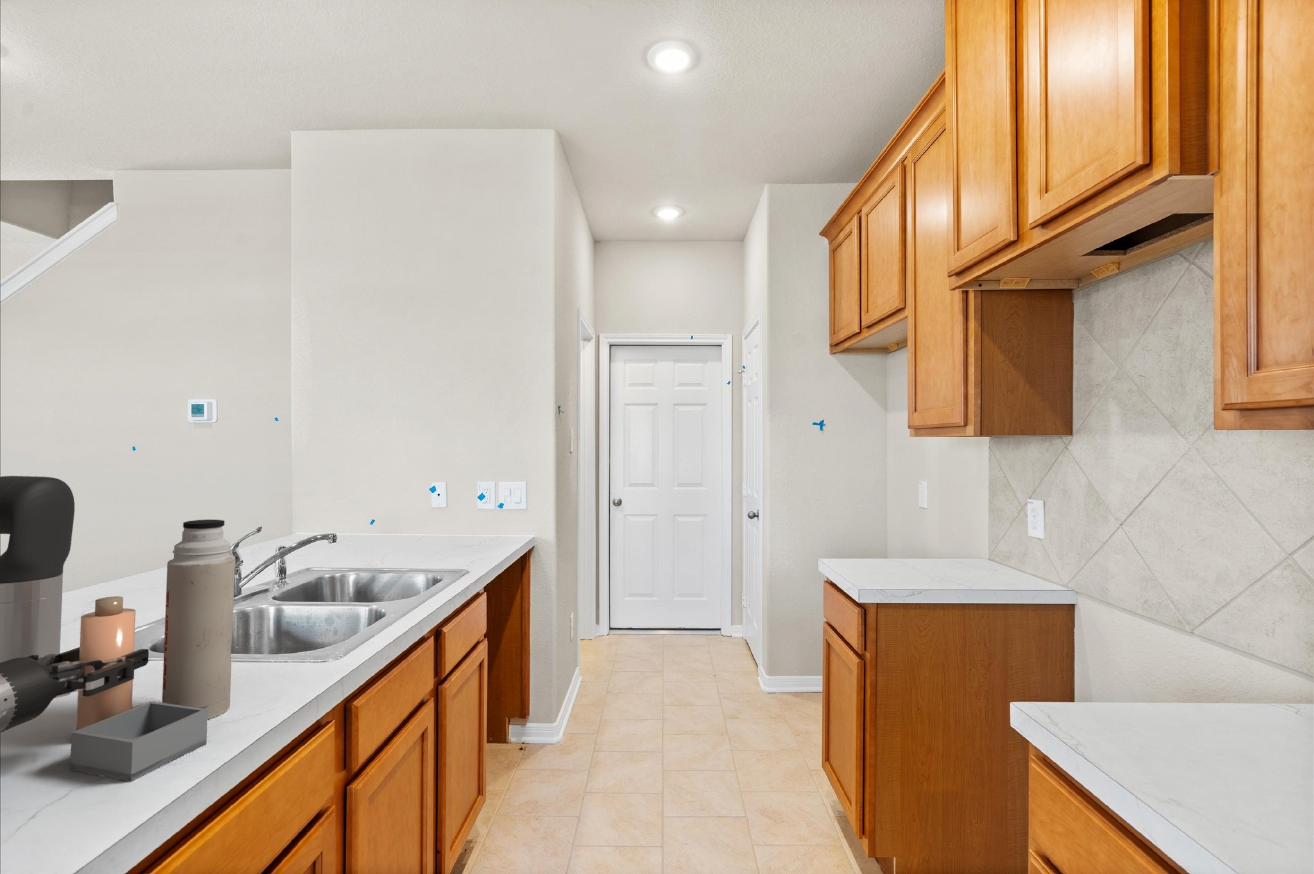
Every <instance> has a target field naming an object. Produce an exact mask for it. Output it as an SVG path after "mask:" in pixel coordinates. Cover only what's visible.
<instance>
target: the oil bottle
mask: <svg viewBox="0 0 1314 874" xmlns="http://www.w3.org/2000/svg"><path fill="white" fill-rule="evenodd" d="M94 601H95V602H94V603H95V605H94V611H93V612H88V613H85V614H82V616H80V631H79V634H80V635H79V647H80V653H79V661H82V660H87V659H92V658H100V659H101V660H108V659H113V658H118V657H121V656H124V655H126V654H129V653H132V652H134V651H135V633H136V609H135V608H128V607H127V608H125V607H124V596H119V595H118V596H105V597H101V598H97V599H95V600H94ZM109 666H110V665H109ZM105 667H107V666H104V667H103V668H105ZM92 670H93V666H85V674H88V673H90V671H92ZM133 683H134V679H133V680H130V681H128V682H125V683H123V684H120V685H118V686H115V687H113V688H110V689H107V690H105V691H102V692H100V693H97V694H95V695H92V696H89V697H87V696H83V690H81V691H77V704H76V705H77V709H76V729H75V731H76V730H79V729H82V728H84V727H87V726H89V725H92V724H94V723H97V722H99V721H102V720H105V719H107V718H110V717H112V716H115V715H117V714H120V713H123V712H125V711H128V710H130V709H133V690H134V687H133V686H134V684H133Z"/></svg>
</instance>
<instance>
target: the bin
mask: <svg viewBox="0 0 1314 874" xmlns="http://www.w3.org/2000/svg"><path fill="white" fill-rule="evenodd" d="M207 715H208V709H202V708H195V707H188V706H181V705H174V704H167V703H162V701H161V702H160V701H153V700H150V701H149V702H146V703H144V704H141V705H138V706H136V707H134V708H133V707H132V709H130V710H128V711H125V712H123V713H120V714H117V715H115V716H112V717H110V718H107V719H105V720H102V721H99V722H97V723H94V724H92V725H89V726H87V727H84V728H82V729H79V730H76V729H75V731H71V735H70V737H71V738H70V762H69V764H70V765H69V770H70V771H71V772H76V773H82V774H88V775H92V776H93V775H94V776H99V777H103V778H109V779H115V780H120V781H126V782H133V781H135V780H137V779H139V778H141V777H143V776H145V775H147V774H149V773H151V772H153V771H155V770H157V769H160V768H161V767H163V766H165V765H167V764H169V763H171V762H174V761H175V760H177V759H179V758H182V757H183V756H185V755H187V754H190V753H191V752H192V751H193V752H194V751H195V750H196V749H197V750H198V749H199V748H201V747H203V746H205V745H207V740H208V739H207V738H208V720H207Z"/></svg>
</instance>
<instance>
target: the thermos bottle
mask: <svg viewBox="0 0 1314 874" xmlns="http://www.w3.org/2000/svg"><path fill="white" fill-rule="evenodd" d="M224 526H225V520H223V519H196V520H186V521H183V522H182V527H183V528H182V529H183V531H182V535H181V541H180V542H178V543H175V544H174V547H173V550H172V553H173V558H172V559H169V560H168V561H167V563H166V564H167V565H166V590H165V593H166V594H165V616H164V617H165V618H164V641H163V643H164V644H163V645H164V646H163V664H162V665H163V670H162V691H161V692H162V693H161V694H162V695H161V703H167V704H174V705H181V706H188V707H195V708H202V709H208V715H207V721H208V720H210V719H213V718H216V717H218V716H221V715H222V714H224V713H226V712H227V711H228V710H229V709H230V706H231V683H232V681H231V680H232V644H233V633H234V632H233V627H234V626H233V625H234V601H235V599H234V597H235V574H236V573H235V572H236V571H235V570H236V569H235V568H236V557H235V555H232V554H231V551H232V549H231V547H232V546H231V543H230V541H228V540H226V539H225V538H224V529H223V527H224Z"/></svg>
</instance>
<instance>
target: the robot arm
mask: <svg viewBox="0 0 1314 874" xmlns="http://www.w3.org/2000/svg"><path fill="white" fill-rule="evenodd" d="M74 496H75V495H74V494H73V491H72V489H71V487H70V486H69V484H68V483H66V482H65V481H64V480H62V479H60V478H57V477H52V476H36V475H34V476H32V475H31V476H29V475H4V476H2V475H1V476H0V535H9V536H8V537H9V538H8V543H7V548H6V550H5V551H4V552H3V553H1V555H0V734H1V733H3V732H5V731H8V730H10V729H12V728H15V727H17V726H20V725H22V724H25V723H27V722H30V721H31V720H34V719H36V718H37V717H39V716H41V714H42V713H44V712H45V710H47V708H48V706H49V705H50V704H51V702H52V701H53V700H54V699H57V698H63V697H67V696H69V695H71V694H72V693H76V692H78V691H81V690H83V696H87V697H89V696H92V695H95V694H97V693H100V692H102V691H105V690H107V689H110V688H113V687H115V686H118V685H120V684H123V683H125V682H128V681H130V680H133V681H134V679H135V670H137V669H140V668H142V667H145V666H147V665H148V664H149V658H150V657H149V649H148V648H141V649H138V650H134V652H132V653H129V654H126V655H124V656H121V657H118V658H113V659H108V660H101V659H100V658H92V659H87V660H82V661H79V653H80V646H79V647H76V648H73V649H70V650H66V651H65V652H63V651H62V652H61V631H62V613H63V612H62V609H63V608H62V607H63V585H64V584H63V583H64V581H63V579H64V577H63V576H64V574H63V573H64V565H65V563H66V561H67V559H68V557H69V555H70V552H71V546H72V537H73V530H74V520H75V506H76V505H75V504H76V503H75V497H74ZM109 665H110V666H109ZM85 666H93V670H92V671H90V673H88V674H85ZM104 666H107V667H105V668H103V667H104Z"/></svg>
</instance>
